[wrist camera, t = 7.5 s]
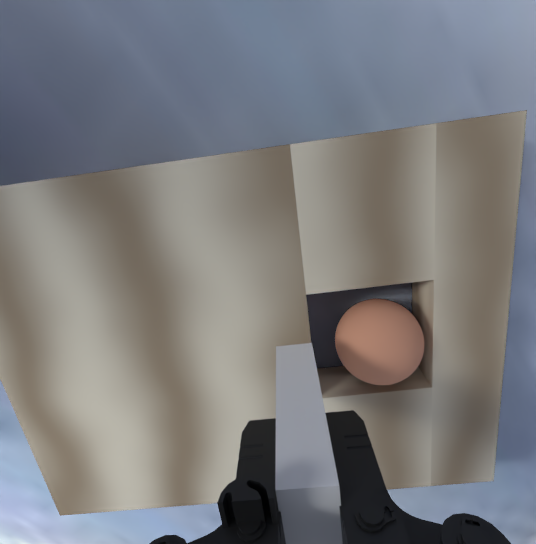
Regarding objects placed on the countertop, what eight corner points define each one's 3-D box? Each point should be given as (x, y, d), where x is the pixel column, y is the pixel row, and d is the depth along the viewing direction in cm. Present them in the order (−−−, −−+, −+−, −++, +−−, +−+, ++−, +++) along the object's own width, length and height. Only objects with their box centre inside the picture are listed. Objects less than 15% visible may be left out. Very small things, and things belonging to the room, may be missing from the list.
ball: (341, 406, 15) (436, 403, 15) (335, 325, 14) (439, 319, 13) (334, 356, 19) (409, 352, 18) (329, 289, 18) (410, 283, 17)
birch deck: (83, 476, 22) (60, 515, 20) (-28, 191, 16) (-80, 197, 14) (468, 443, 20) (493, 480, 18) (486, 118, 15) (526, 110, 13)
